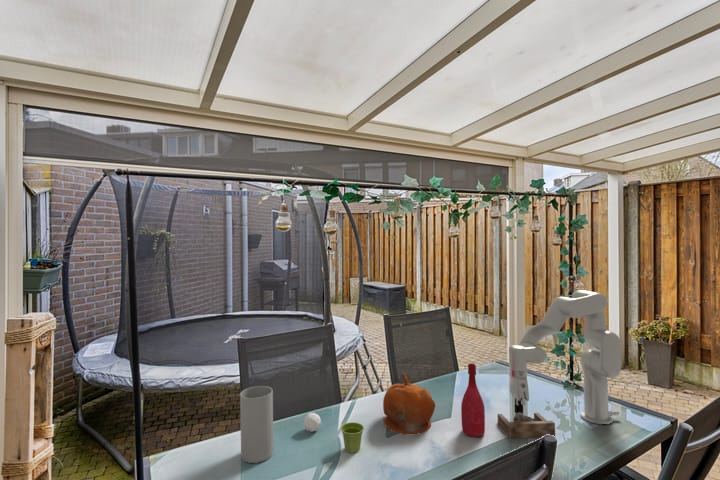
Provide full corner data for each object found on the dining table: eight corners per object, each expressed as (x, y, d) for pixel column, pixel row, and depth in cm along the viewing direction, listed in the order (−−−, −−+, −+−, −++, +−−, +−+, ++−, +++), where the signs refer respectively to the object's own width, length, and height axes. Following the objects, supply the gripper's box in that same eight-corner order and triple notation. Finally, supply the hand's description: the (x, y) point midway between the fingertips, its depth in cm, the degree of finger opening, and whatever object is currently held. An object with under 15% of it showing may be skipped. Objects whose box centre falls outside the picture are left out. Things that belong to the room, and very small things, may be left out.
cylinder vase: (235, 455, 147) (234, 392, 147) (263, 443, 156) (262, 383, 156) (250, 468, 138) (249, 401, 138) (279, 454, 147) (278, 391, 147)
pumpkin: (395, 407, 188) (394, 363, 188) (442, 419, 174) (441, 371, 174) (372, 425, 169) (371, 376, 169) (423, 440, 155) (422, 387, 156)
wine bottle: (469, 439, 155) (468, 368, 156) (457, 428, 165) (456, 361, 165) (489, 436, 158) (488, 366, 158) (476, 425, 167) (475, 359, 168)
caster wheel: (534, 429, 168) (540, 437, 158) (508, 421, 170) (513, 429, 161) (537, 414, 169) (543, 421, 159) (511, 407, 171) (516, 413, 161)
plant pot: (351, 440, 156) (351, 419, 157) (368, 447, 150) (368, 426, 151) (336, 450, 149) (335, 428, 149) (354, 458, 143) (353, 436, 143)
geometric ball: (308, 436, 166) (301, 418, 169) (324, 427, 168) (316, 410, 172) (307, 435, 159) (299, 417, 163) (324, 426, 162) (316, 408, 165)
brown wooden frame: (538, 421, 170) (538, 408, 170) (555, 437, 156) (554, 422, 156) (497, 422, 170) (497, 409, 170) (510, 438, 156) (510, 424, 156)
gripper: (534, 378, 161) (535, 420, 161) (518, 367, 176) (519, 406, 176) (517, 379, 161) (518, 421, 161) (503, 367, 176) (504, 406, 176)
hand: (518, 413), depth 168 cm, fingers closed
